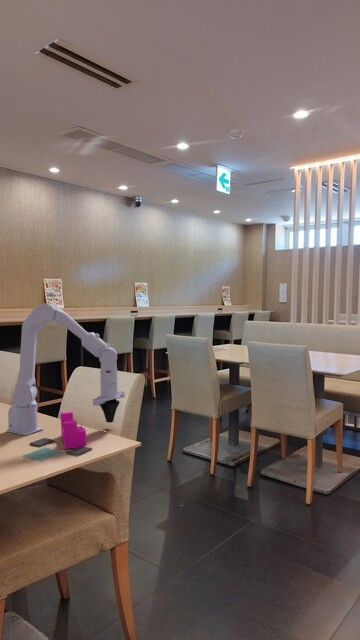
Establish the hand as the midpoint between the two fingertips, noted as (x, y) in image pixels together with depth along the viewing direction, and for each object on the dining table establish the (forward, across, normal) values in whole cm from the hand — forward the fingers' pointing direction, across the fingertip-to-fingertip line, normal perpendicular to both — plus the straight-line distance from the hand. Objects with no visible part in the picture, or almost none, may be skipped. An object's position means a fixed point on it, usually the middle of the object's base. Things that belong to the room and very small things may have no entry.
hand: (109, 421), depth 158 cm
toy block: (+2, -17, 0) cm, 17 cm away
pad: (+2, -30, 0) cm, 30 cm away
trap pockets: (+2, -23, 0) cm, 23 cm away
